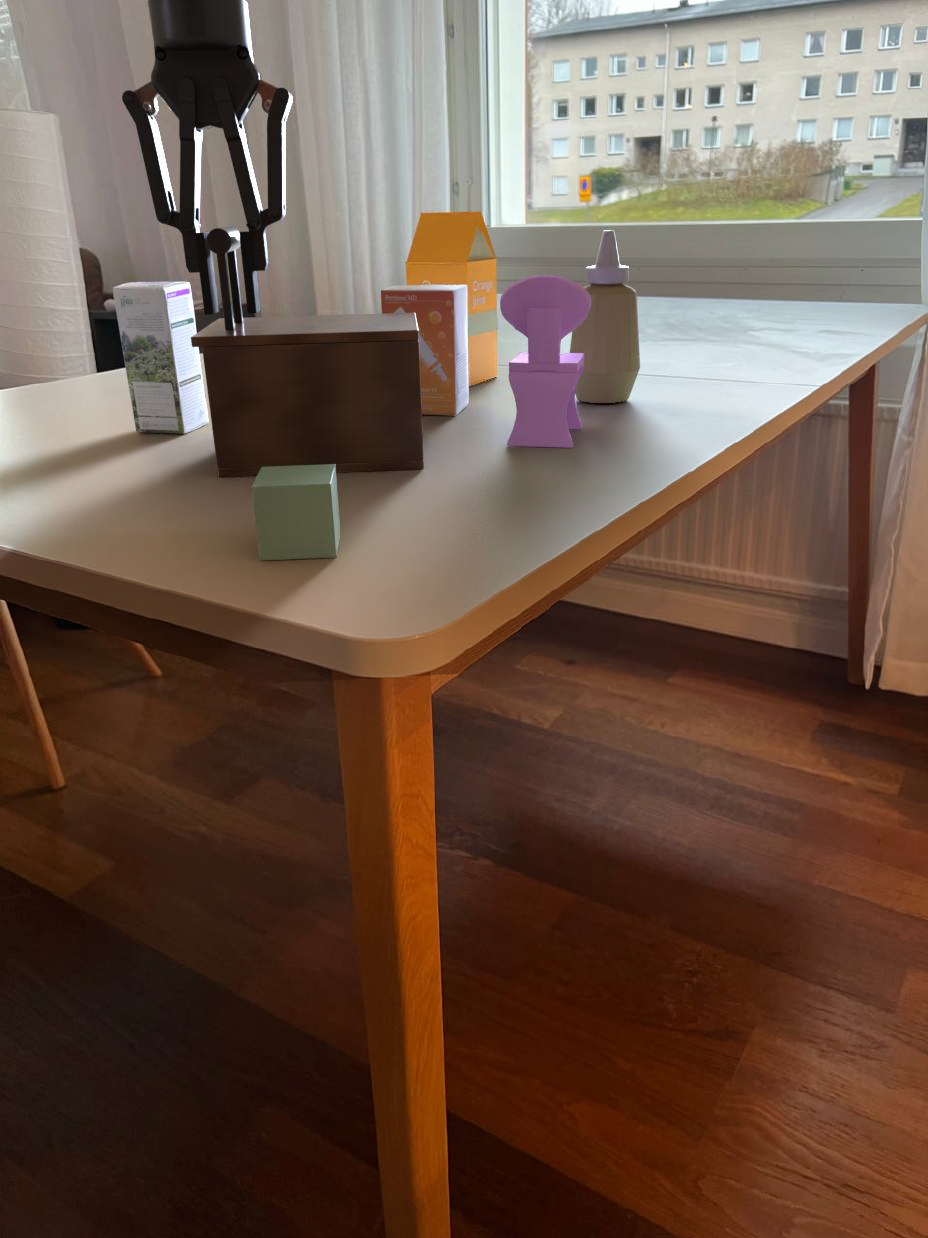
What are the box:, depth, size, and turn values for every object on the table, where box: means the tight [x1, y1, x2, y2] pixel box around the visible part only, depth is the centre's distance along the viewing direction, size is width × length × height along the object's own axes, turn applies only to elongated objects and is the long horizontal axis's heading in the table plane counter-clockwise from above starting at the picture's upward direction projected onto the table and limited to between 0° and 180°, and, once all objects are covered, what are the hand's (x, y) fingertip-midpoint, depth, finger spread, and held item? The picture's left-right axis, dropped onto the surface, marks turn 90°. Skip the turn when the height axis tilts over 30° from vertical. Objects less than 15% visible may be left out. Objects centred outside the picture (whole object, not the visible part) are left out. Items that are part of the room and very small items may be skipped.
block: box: [251, 464, 342, 562], centre depth 64 cm, size 5×5×5 cm
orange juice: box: [405, 211, 499, 387], centre depth 120 cm, size 8×9×20 cm
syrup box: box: [111, 281, 210, 435], centre depth 98 cm, size 6×6×14 cm
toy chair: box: [499, 274, 591, 449], centre depth 90 cm, size 8×9×15 cm
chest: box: [201, 340, 425, 478], centre depth 87 cm, size 18×14×11 cm
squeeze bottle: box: [569, 229, 641, 404], centre depth 106 cm, size 8×8×18 cm
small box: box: [380, 284, 470, 417], centre depth 104 cm, size 8×6×13 cm
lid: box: [191, 226, 419, 348], centre depth 83 cm, size 18×14×9 cm
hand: (233, 311), depth 83 cm, fingers open, 3 cm apart
